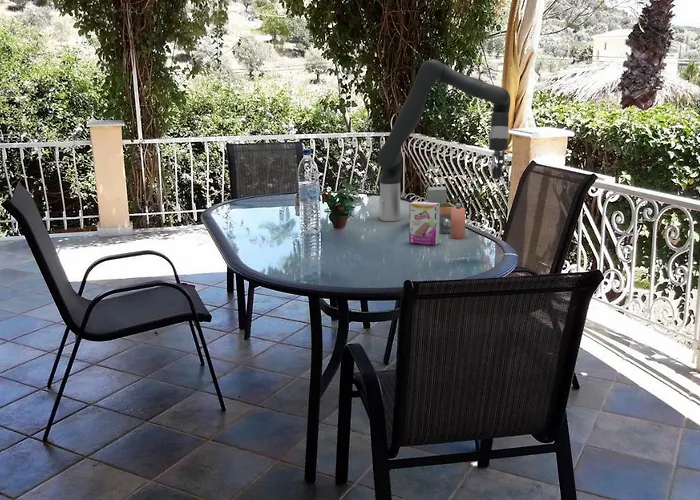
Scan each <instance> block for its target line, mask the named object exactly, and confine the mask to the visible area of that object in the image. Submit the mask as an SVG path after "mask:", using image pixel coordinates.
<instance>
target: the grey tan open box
mask: <svg viewBox="0 0 700 500" xmlns="http://www.w3.org/2000/svg"><path fill="white" fill-rule="evenodd" d="M453 207H456V204H455V205H454V204H453V203H451V202H447V203H440V215H439V234H448V233H450V234H451V208H453Z"/></svg>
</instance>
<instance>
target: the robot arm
mask: <svg viewBox="0 0 700 500" xmlns="http://www.w3.org/2000/svg"><path fill="white" fill-rule="evenodd" d="M436 82H437V83H441V84H446V85H449V86H451V87H453V88H455V89H457V90H458V91H461V92H462V93H465V94H467V95H468V96H470V97H474V98H477V99H479V100H485V101H488V102H489V103H492V105H493V106H492V114H491V118H490V120H491V121H490V131H489V140H488V141H489V143H488V145H489V146H488V150H490V151H494V152H493V153H492V155H491V156H492V157H491V169H492V174H491V175H492V179H498V178H502V173H503V167H504V165H505V151H507V150H509V124H510V123H509V122H510V121H509V119H510V118H509V113H510V108H511V94H510V93H509V91H508V90H507V89H506V88H504V87H502V86H497V85H495V84H490V83H488V82H486V81H484V80H480V79H478V78H476V77H472V76H470V75H467V74H464V73H461V72H459V71H457V70H454V69H453V68H451V67H449V66H447V65H446V64H444V63H442V62H441V61H440V60H439V59H428V60H426V61H424V62H423V63H422V64H420V67H419V69H418V71H417V74H416V77H415V80H414V83H413V85H412V87H411V90H410V91H409V93H408V95H407V97H406V99H405V101H404V103H403V105H402V107H401V108H400V110H399V113H398V115H397V118H396V119H395V122H394V124H393V126H392V128H391V130H390V133H389V135H388V137H387V138H386V140H385V142H384V144H383V145H382V147H381V149H380V150H379V151H378V154H377V164H378V166H379V167H380V168H382V172H381V175H380V177H379V194H380V195H379V198H378V205H379V207H378V209H379V211H378V214H379V215H378V216H379V220H380V221H381V222H397V221H400V220H401V215H402V214H401V178H402V172H403V169H402V168H403V156H402V152H401V149H402V147H403V144H404V143H405V141H406V140H408V138H409V137H410V136H411V134H412V132H413V131H415V129H416V128H417V126H418V124H419V121H420V120H421V117H422V115H423V112H424V109H425V105H426V100H427V97H428V95H429V92H430V91H431V89H432V87H433V85H434V84H435V83H436Z"/></svg>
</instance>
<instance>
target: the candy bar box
mask: <svg viewBox="0 0 700 500" xmlns="http://www.w3.org/2000/svg"><path fill="white" fill-rule="evenodd" d="M439 215H440V203H429V202H428V201H415V200H413V201H412V202H410V203H409V217H408V218H409V219H408V220H409V224H408V225H409V226H408V227H409V230H408V231H409V237H408V239H409V241H408V243H409V244H414V245H415V244H416V245H423V246H432V247H433V246H437V245H438V244H439V243H440V233H439Z"/></svg>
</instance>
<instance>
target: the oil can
mask: <svg viewBox="0 0 700 500" xmlns="http://www.w3.org/2000/svg"><path fill="white" fill-rule="evenodd" d="M455 206H456V207H453V208H451V232H450V238H451V239H456V240H458V239H459V240H460V239H465V237H466V207H462V204H461V203H460V202H456V203H455Z"/></svg>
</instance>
